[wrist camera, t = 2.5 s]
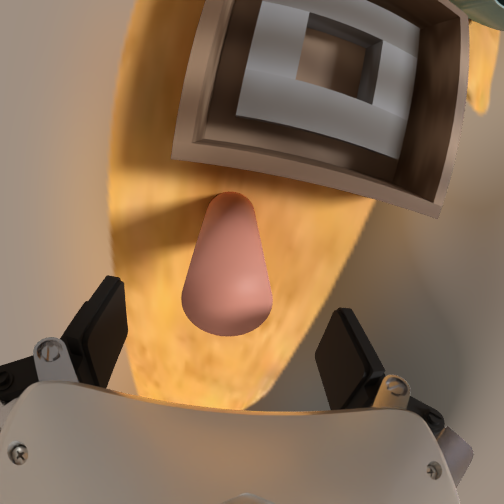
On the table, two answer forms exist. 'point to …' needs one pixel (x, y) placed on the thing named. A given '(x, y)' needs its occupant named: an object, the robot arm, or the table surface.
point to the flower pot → (483, 11)
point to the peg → (228, 270)
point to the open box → (330, 94)
